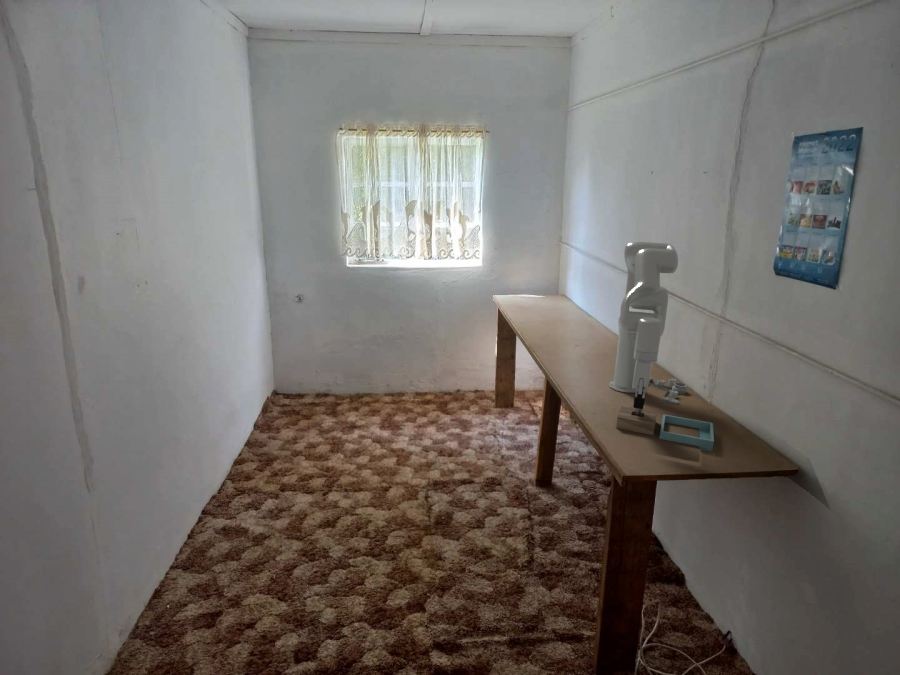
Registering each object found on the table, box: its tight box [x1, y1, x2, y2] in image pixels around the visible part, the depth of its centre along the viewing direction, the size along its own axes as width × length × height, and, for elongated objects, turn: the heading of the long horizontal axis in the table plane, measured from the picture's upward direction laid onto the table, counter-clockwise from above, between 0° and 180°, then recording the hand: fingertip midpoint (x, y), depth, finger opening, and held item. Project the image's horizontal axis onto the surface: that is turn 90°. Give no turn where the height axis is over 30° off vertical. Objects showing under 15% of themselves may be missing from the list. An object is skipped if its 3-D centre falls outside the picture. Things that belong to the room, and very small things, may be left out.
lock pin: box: [633, 390, 647, 417], centre depth 198 cm, size 3×3×11 cm
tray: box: [659, 414, 715, 452], centre depth 194 cm, size 16×16×4 cm
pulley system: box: [648, 376, 688, 405], centre depth 236 cm, size 27×5×15 cm
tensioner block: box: [615, 404, 658, 436], centre depth 199 cm, size 12×12×5 cm
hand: (638, 405), depth 198 cm, fingers closed on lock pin, 3 cm apart
